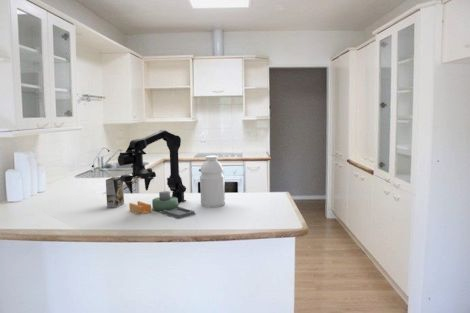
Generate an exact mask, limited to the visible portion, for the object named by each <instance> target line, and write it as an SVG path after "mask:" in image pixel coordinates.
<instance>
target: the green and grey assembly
mask: <svg viewBox="0 0 470 313" xmlns="http://www.w3.org/2000/svg"><path fill="white" fill-rule="evenodd" d="M151 203H152V210H153V211H155V212H160V214H163V215H165V216H167V217H171V218H174V219H178V220H179V219H182V218H186V217H190V216H194V215H196V212H195V210H192V209H188V208H185V207H182V206H179V203H178V198H176V197H172V196H171V191H170V190H169V191H168V190H163V191H160V192H159V197H155V198H153V199H152V201H151Z"/></svg>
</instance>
